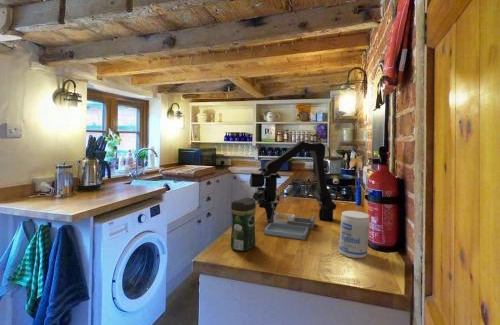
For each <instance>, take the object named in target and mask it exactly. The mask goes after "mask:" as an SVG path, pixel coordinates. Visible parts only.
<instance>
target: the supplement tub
mask: <svg viewBox="0 0 500 325" xmlns="http://www.w3.org/2000/svg"><path fill="white" fill-rule="evenodd" d="M370 218H371V217H370V215H369V214H368V213H366V212H363V211H362V212H361V211H358V210H345V211H342V212H341V218H340V230H339V242H338V251H339V252H340V254H342V255H343V256H345V257H348V258H351V259H363V258H366V256H367V255H368V245H369V234H370V223H371V222H370V220H371V219H370Z"/></svg>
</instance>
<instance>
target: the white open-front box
mask: <svg viewBox="0 0 500 325" xmlns="http://www.w3.org/2000/svg"><path fill="white" fill-rule="evenodd" d="M281 215H286V216H287V218H288V219H287V220H283V219H280V217H281ZM295 217H296V216H295V214H293V213H292V214H291V213H283V212H274V213H272V215H271V218H270V219H268V218H267V217H266V222H270V223H271V222H273V223H281V224H287V221H295Z"/></svg>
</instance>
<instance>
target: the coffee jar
mask: <svg viewBox="0 0 500 325" xmlns="http://www.w3.org/2000/svg"><path fill="white" fill-rule="evenodd" d="M256 208H257V205H256V201H255V200H254V199H253V197H248V196H246V197H245V196H244V197H243V198H238V199H237V200H233V201H232V202H231V203H230V211H231V233H230V248H231V249H232V250H234V251H237V252H247V251H249V250H251V249H252V248H254V247H255V245H256V221H255V220H256V219H255V216H256Z"/></svg>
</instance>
